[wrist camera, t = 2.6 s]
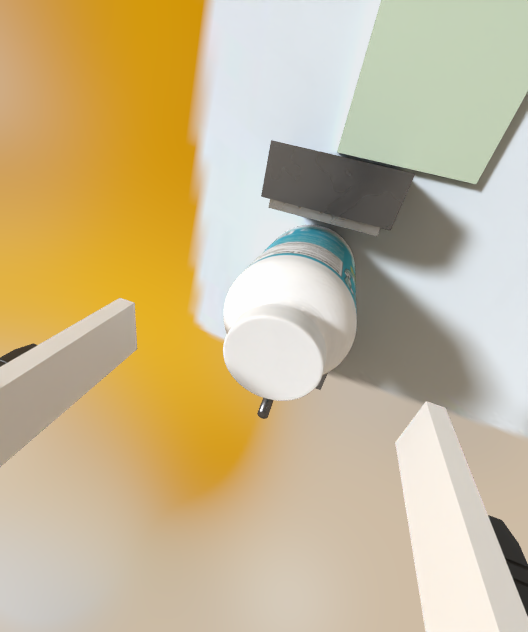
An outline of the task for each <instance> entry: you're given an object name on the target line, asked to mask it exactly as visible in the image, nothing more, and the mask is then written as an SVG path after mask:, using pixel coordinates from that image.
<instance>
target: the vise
mask: <svg viewBox="0 0 528 632" xmlns="http://www.w3.org/2000/svg"><path fill="white" fill-rule="evenodd" d="M414 175H415V174H414V173H410V172H405V171H401V170H397V169H392V168H388V167H384V166H379V165H375V164H371V163H366V162H362V161H358V160H354V159H349V158H345V157H341V156H336V155H332V154H328V153H323V152H319V151H315V150H310V149H306V148H302V147H298V146H293V145H289V144H285V143H280V142H276V141H272V140H271V145H270V150H269V156H268V162H267V167H266V173H265V178H264V184H263V190H262V195H261V196H262V197H265V198H269V199H270V203H269V208H272V209H276V210H280V211H284V212H287V213H291V214H295V215H299V216H302V217H306V218H310V219H313V220H317V221H321V222H325V223H328V224H332V225H336V226H340V227H343V228H347V229H351V230H355V231H358V232H362V233H366V234H370V235H373V236H378V233H379V231H380V228H383V229H387V230H391V228H392V225H393V223H394V221H395V218H396V216H397V214H398V212H399V209H400V207H401V205H402V203H403V200H404V198H405V196H406V193H407V191H408V189H409V187H410V184H411V182H412V180H413V177H414ZM327 374H328V373H326V374H324V375H323V376H322V378H321V380H320V382H319V384H318V385H317V386H316V389H319V390H320V389H321V387H322V385H323V382H324V380H325V378H326V376H327ZM272 403H273V400H271V399H267V398H263V400H262V403H261V405H260V408H259V411H258V416H259V417H261V418H263V419H265V418H267V417H268V415H269V412H270V409H271V406H272Z"/></svg>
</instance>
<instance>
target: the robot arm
mask: <svg viewBox="0 0 528 632" xmlns="http://www.w3.org/2000/svg"><path fill="white" fill-rule="evenodd" d="M135 350H137V339H136V322H135V303H133V302H130V301H127V300H125V299H121V298H119V299H117V300H115V301H114V302H112V303H110V304H109V305H107V306H105V307H103V308H102V309H100V310H98V311H96V312H95V313H93V314H91V315H89V316H88V317H86V318H85V319H83V320H81V321H79V322H77V323H76V324H74V325H72V326H70V327H69V328H67V329H65V330H64V331H62V332H60V333H58V334H57V335H55V336H53V337H52V338H50V339H48V340H46V341H44V342H43V343H41V344H39V345H36V344H31V345H27V346H25V347H21V348H18V349H15V350H13V351H11V352H10V353H8V354H6V355H4V356H2V357H1V358H0V467H1V466H2V465H3V464H4V463H6V462H7V461H8V460H9V459H10V458H11V457H12V456H14V455H15V454H16V453H17V452H18V451H19V450H21V449H22V448H23V447H24V446H25V445H26V444H28V443H29V442H30V441H31V440H32V439H33V438H34V437H36V436H37V435H38V434H39V433H40V432H41V431H43V430H44V429H45V428H46V427H47V426H48V425H49V424H51V423H52V422H53V421H54V420H55V419H57V418H58V417H59V416H60V415H61V414H62V413H63V412H65V411H66V410H67V409H68V408H69V407H70V406H72V405H73V404H74V403H75V402H76V401H77V400H78V399H80V398H81V397H82V396H83V395H84V394H86V393H87V392H88V391H89V390H90V389H91V388H92V387H94V386H95V385H96V384H97V383H98V382H99V381H101V380H102V379H103V378H104V377H105V376H106V375H108V374H109V373H110V372H111V371H112V370H113V369H115V368H116V367H117V366H118V365H119V364H120V363H121V362H123V361H124V360H125V359H126V358H127V357H128V356H129V355H131V354H132V353H133V352H134V351H135ZM395 444H396V449H397V456H398V462H399V468H400V474H401V481H402V487H403V494H404V500H405V506H406V512H407V518H408V524H409V530H410V537H411V543H412V550H413V556H414V561H415V568H416V575H417V581H418V587H419V593H420V600H421V606H422V612H423V618H424V625H425V631H426V632H528V564H527V562H526V559H525V557H524V555H523V552H522V550H521V548H520V546H519V543H518V542H517V541H516V539H515V538H514V536H513V535H512V534H511V532H510V531H509V529H508V528H507V526H506V525H505V524H504V522H503V521H502V520H500V519H497V518H494V517H491V516H489V515H488V514H487V512H486V509H485V507H484V504H483V501H482V499H481V496H480V494H479V491H478V489H477V486H476V484H475V481H474V478H473V476H472V473H471V471H470V468H469V466H468V463H467V461H466V458H465V455H464V453H463V450H462V448H461V445H460V443H459V440H458V437H457V435H456V432H455V430H454V427H453V425H452V422H451V420H450V417H449V414H448V412H447V409H446V408H445V407H442V406H439V405H436V404H433V403H430V402H427V401H426V402H425V403H424V404H423V406H422V407H421V408H420V410H419V411H418V412H417V414H416V415H415V417H414V418H413V419H412V421H411V422H410V423H409V425H408V426H407V427H406V429H405V430H404V432H403V433H402V434H401V435H400V437H399V438H398V439H397V441H396V442H395Z"/></svg>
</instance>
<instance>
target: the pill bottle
mask: <svg viewBox="0 0 528 632" xmlns="http://www.w3.org/2000/svg"><path fill="white" fill-rule="evenodd" d="M224 325H225V330H226V333H227V336H226V338H225V341H224V346H223V347H224V348H223V354H224V360H225V364H226V366H227V368H228V370H229V372H230V373H231V375H232V376H233V378H234V379H235V380H236V381H237V382H238V383H239V384H240V385H241V386H243V387H244V388H245V389H247V390H248V391H250V392H251V393H254V394H256V395H258V396H260V397H263V398H267V399H271V400H278V401H287V400H294V399H298V398H300V397H303V396H305V395H307V394H309V393H310V392H311V391H312V390H314V389H315V388H316V386H317V385H318V384H319V382H320V380H321V378H322V376H323V375H324V374H326V373H328V372H329V371H331V370H333V369H334V368H335V367H337V366H338V365H339V364H340V363H341V362H342V361H343V360H344V358H345V357H346V356H347V354H348V352H349V351H350V349H351V347H352V345H353V342H354V339H355V336H356V330H357V309H356V279H355V261H354V257H353V254H352V251H351V249H350V247H349V246H348V244H347V243H346V242H345V240H344V239H343V238H342V237H341V236H340V235H338V234H337V233H336V232H334V231H332V230H331V229H328V228H326V227H323V226H319V225H301V226H297V227H294V228H292V229H289V230H288V231H286V232H284V233H283V234H282V235H280V236H279V237H278V238H277V239H276V240H275V241H274V242H273V243H272V244H271V245H270V246H269V247H268V248H267V249H266V250H265V251H264V252H263V253H262V254H261V255H260V256H259V257H258V258H257V259H256V260H255V261H254V262H253V263H252V264H251V265H250V266H249V267H248V268H246V270H244V272H243V273H242V274H241V275H240V276H239V277H238V278H237V279H236V280H235V281H234V283H233V284H232V286H231V288H230V290H229V292H228V294H227V297H226V300H225V305H224Z"/></svg>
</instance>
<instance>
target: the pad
mask: <svg viewBox="0 0 528 632" xmlns="http://www.w3.org/2000/svg"><path fill="white" fill-rule="evenodd" d="M527 92H528V0H381V3H380V7H379V10H378V14H377V17H376V20H375V24H374V27H373V31H372V34H371V38H370V41H369V45H368V48H367V51H366V55H365V58H364V62H363V65H362V69H361V72H360V75H359V79H358V82H357V86H356V89H355V93H354V96H353V99H352V103H351V106H350V110H349V113H348V117H347V120H346V123H345V127H344V130H343V134H342V137H341V141H340V144H339V147H338V151H337V152H338V153H342V154H346V155H351V156H355V157H359V158H364V159H368V160H372V161H377V162H381V163H385V164H390V165H394V166H398V167H403V168H407V169H411V170H416V171H420V172H424V173H429V174H433V175H437V176H442V177H446V178H450V179H455V180H459V181H463V182H468V183H472V184H477V182H478V180H479V178H480V176H481V175H482V173H483V171H484V169H485V167H486V166H487V164H488V162H489V160H490V158H491V157H492V155H493V153H494V151H495V149H496V148H497V146H498V144H499V142H500V140H501V139H502V137H503V135H504V133H505V131H506V130H507V128H508V126H509V124H510V122H511V121H512V119H513V117H514V115H515V113H516V112H517V110H518V108H519V106H520V104H521V103H522V101H523V99H524V97H525V95H526V94H527Z"/></svg>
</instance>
